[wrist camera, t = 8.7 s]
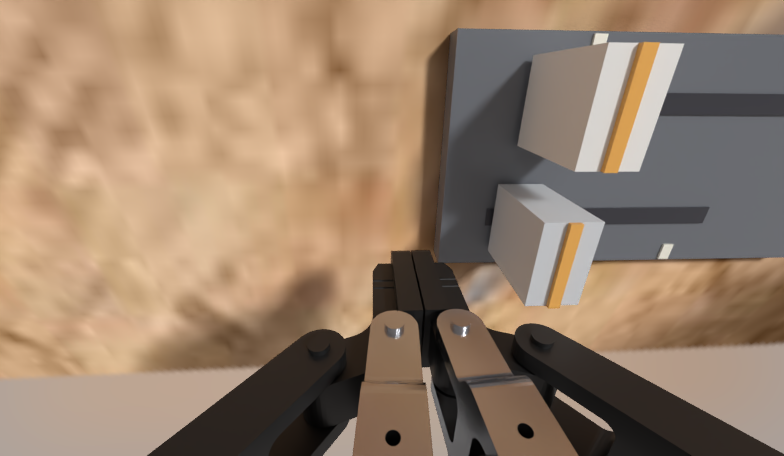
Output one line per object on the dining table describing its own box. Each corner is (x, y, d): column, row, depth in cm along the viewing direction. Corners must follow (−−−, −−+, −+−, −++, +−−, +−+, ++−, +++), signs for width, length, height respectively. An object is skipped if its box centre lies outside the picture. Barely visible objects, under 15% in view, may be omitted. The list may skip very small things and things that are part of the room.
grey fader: (542, 183, 17) (608, 224, 12) (527, 249, 18) (580, 307, 14) (498, 184, 16) (547, 225, 12) (487, 250, 18) (527, 309, 13)
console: (908, 41, 16) (961, 37, 15) (782, 245, 21) (812, 257, 20) (450, 33, 15) (458, 28, 14) (433, 250, 20) (438, 264, 19)
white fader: (585, 55, 14) (690, 42, 9) (563, 145, 16) (643, 172, 11) (533, 55, 14) (613, 41, 9) (517, 145, 16) (577, 172, 11)
